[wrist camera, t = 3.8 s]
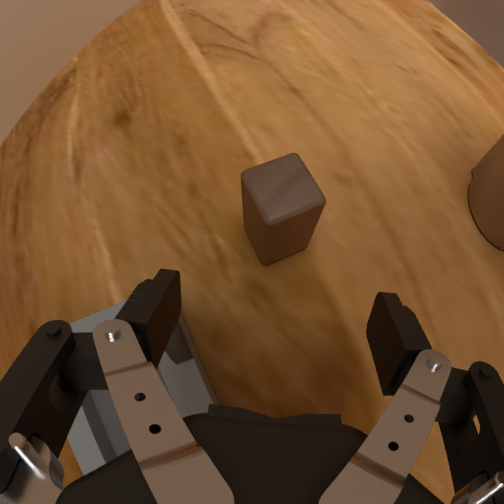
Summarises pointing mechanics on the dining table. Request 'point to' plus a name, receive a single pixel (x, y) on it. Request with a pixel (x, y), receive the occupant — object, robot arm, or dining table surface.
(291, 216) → the wooden block
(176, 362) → the chassis
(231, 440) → the robot arm
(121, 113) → the dining table surface
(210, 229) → the dining table surface
